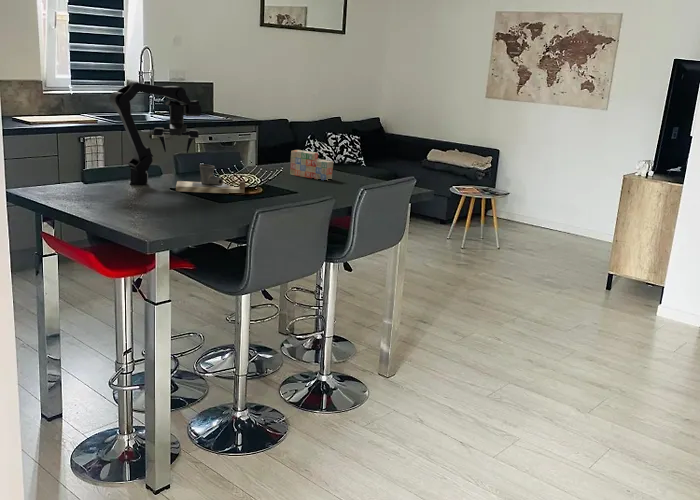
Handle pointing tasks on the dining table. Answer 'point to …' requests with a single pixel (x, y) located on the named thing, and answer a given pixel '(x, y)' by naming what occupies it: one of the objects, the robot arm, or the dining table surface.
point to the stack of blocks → (310, 165)
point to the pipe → (209, 175)
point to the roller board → (209, 187)
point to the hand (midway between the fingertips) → (176, 152)
